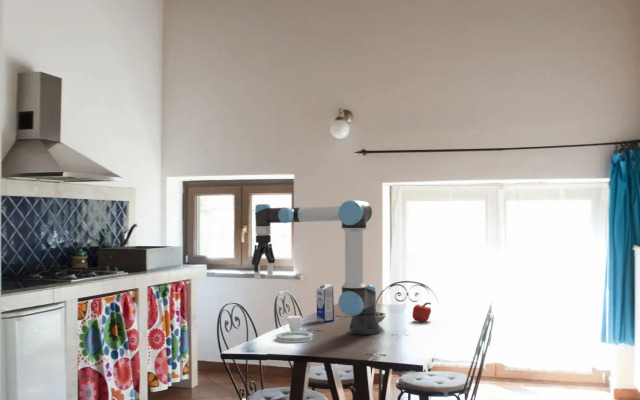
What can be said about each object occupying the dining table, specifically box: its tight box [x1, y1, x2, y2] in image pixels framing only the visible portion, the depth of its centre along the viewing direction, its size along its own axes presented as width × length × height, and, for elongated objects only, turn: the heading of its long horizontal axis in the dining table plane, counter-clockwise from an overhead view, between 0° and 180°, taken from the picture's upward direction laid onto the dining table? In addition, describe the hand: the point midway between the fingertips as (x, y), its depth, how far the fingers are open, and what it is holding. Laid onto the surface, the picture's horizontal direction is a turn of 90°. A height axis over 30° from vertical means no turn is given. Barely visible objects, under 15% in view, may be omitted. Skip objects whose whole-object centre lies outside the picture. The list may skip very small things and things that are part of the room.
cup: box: [282, 315, 302, 332], centre depth 319 cm, size 7×10×8 cm
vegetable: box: [411, 302, 432, 323], centre depth 346 cm, size 11×10×10 cm
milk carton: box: [315, 283, 335, 324], centre depth 353 cm, size 7×7×20 cm
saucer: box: [275, 331, 314, 344], centre depth 303 cm, size 17×17×2 cm
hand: (263, 277), depth 326 cm, fingers open, 13 cm apart
